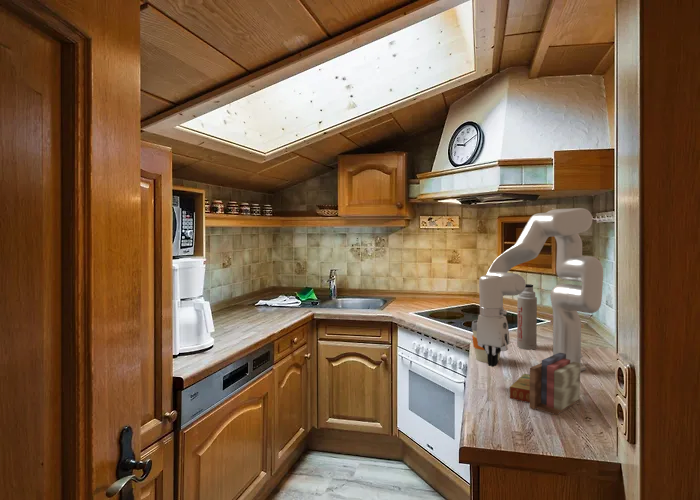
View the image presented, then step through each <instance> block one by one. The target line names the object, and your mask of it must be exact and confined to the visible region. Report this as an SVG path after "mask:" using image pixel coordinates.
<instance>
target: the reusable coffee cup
mask: <svg viewBox="0 0 700 500" xmlns="http://www.w3.org/2000/svg"><path fill="white" fill-rule="evenodd" d="M477 321H478V319H474V320H472V322H471V330H472V335H471V337H472V344H473V348H474V353H475V360H477V361H478V362H482V363H488V356H487V354H486V351H485V350H484V348H483V347H480V346H478V341H477ZM500 356H501V352H500V353H499V354H498V362H499V361H500Z"/></svg>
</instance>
